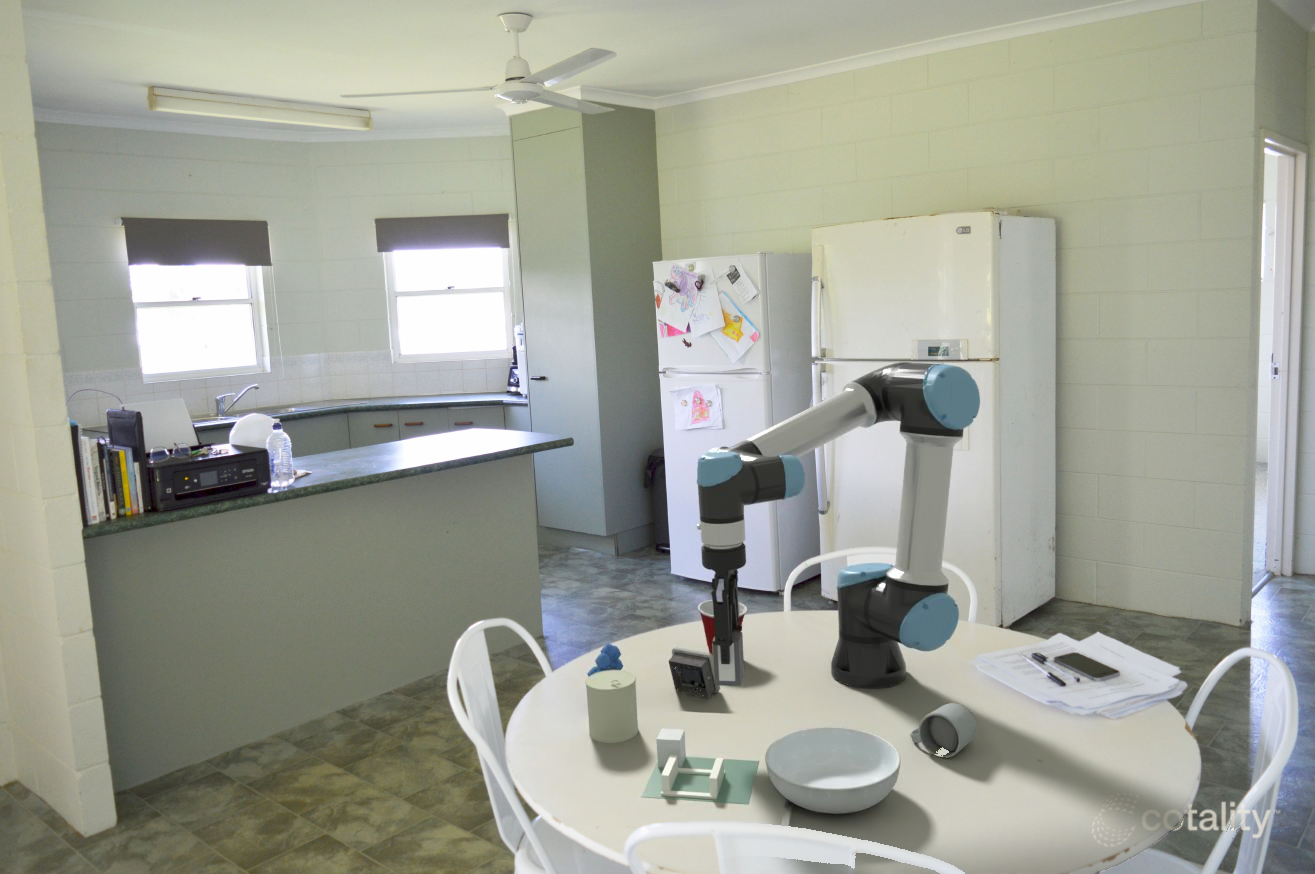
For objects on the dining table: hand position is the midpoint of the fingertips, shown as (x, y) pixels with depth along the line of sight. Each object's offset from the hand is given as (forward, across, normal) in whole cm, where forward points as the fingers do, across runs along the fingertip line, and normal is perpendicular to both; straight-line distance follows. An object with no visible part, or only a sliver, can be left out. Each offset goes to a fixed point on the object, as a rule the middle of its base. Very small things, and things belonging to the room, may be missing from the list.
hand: (729, 673), depth 168 cm
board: (+14, +13, -3) cm, 20 cm away
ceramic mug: (+15, -6, +35) cm, 39 cm away
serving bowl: (+15, +13, +18) cm, 27 cm away
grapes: (+14, -17, -28) cm, 36 cm away
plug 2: (+1, 0, 0) cm, 1 cm away
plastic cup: (+15, -43, -8) cm, 46 cm away
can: (+14, -2, -22) cm, 26 cm away
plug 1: (+13, +8, -9) cm, 18 cm away
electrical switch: (+14, -24, -11) cm, 30 cm away
